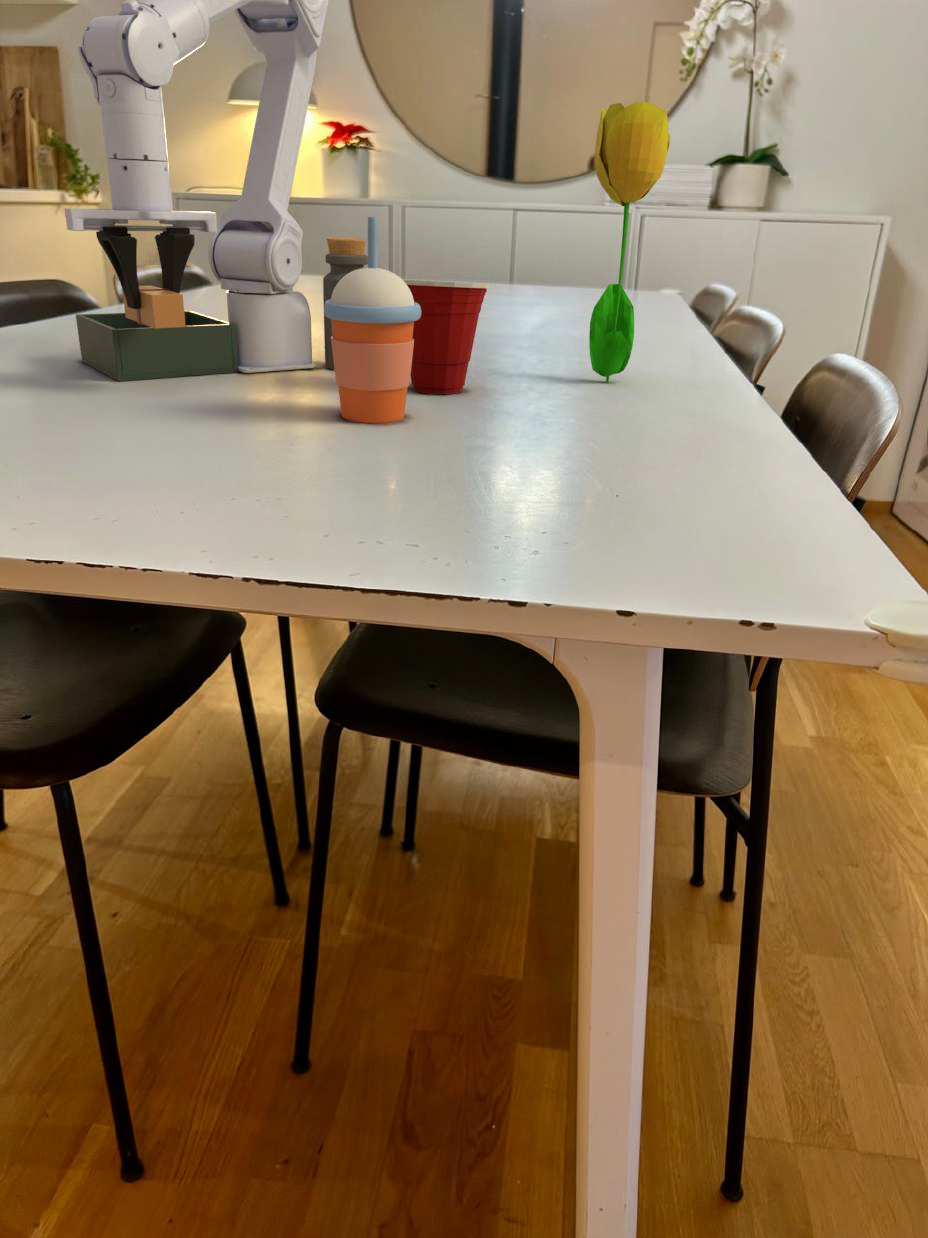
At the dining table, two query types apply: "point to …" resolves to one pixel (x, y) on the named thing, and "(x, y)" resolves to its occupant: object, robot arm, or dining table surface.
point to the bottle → (340, 277)
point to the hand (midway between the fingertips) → (153, 307)
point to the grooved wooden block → (158, 308)
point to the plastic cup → (444, 333)
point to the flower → (627, 174)
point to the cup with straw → (372, 340)
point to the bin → (157, 347)
